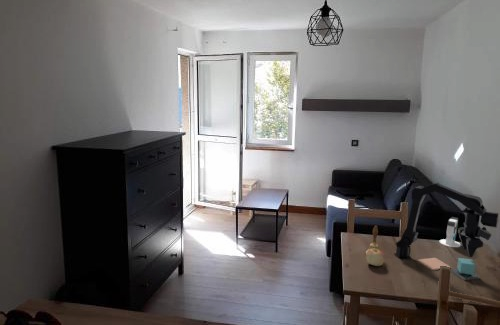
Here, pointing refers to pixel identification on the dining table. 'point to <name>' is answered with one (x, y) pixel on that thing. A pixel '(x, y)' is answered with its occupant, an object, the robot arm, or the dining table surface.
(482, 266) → the dining table surface
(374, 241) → the hand bell
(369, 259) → the apple
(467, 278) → the post base
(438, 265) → the tile
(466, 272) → the teal cube
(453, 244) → the white stand
